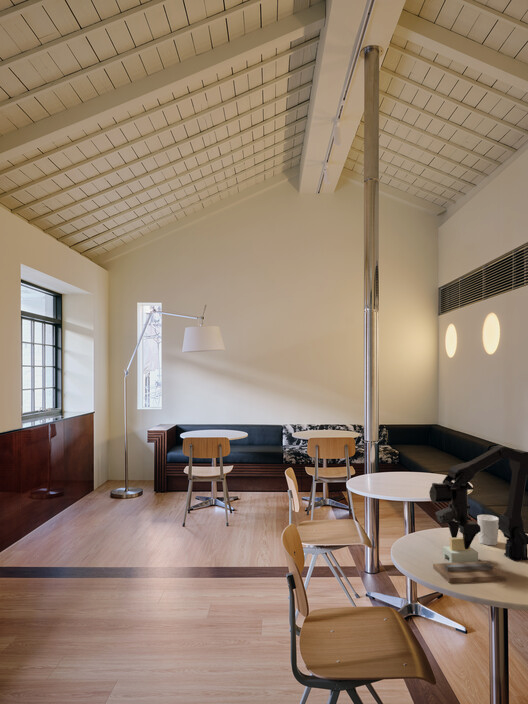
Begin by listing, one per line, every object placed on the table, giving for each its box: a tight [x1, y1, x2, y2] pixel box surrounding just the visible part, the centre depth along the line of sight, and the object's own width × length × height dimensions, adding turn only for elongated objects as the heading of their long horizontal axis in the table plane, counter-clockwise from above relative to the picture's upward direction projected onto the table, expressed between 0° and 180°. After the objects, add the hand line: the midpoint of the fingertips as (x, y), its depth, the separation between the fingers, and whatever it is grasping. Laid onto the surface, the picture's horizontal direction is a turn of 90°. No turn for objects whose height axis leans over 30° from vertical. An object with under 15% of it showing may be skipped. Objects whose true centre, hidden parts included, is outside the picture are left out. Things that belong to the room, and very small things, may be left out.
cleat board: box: [432, 561, 508, 584], centre depth 169 cm, size 20×12×3 cm, turn 95°
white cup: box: [476, 514, 499, 546], centre depth 199 cm, size 8×8×10 cm
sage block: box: [442, 536, 479, 563], centre depth 181 cm, size 10×7×8 cm
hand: (460, 544), depth 181 cm, fingers open, 9 cm apart
